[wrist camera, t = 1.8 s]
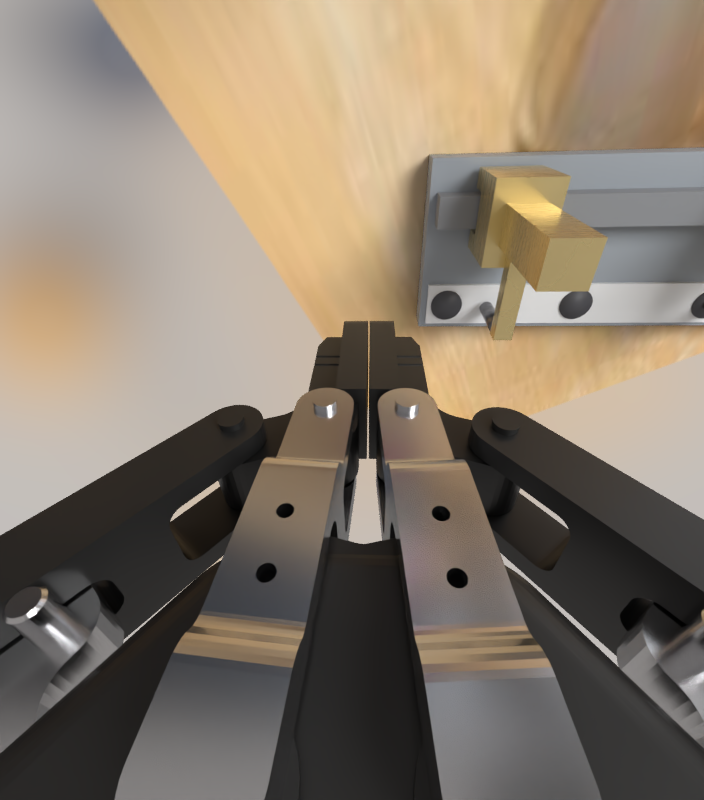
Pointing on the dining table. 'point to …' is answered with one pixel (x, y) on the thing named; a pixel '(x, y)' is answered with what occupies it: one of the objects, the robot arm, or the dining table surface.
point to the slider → (530, 239)
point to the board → (583, 172)
